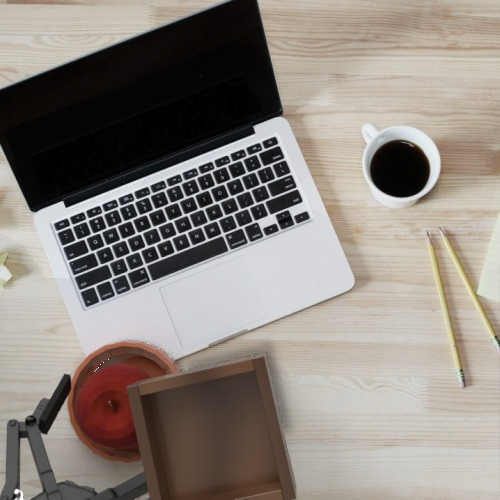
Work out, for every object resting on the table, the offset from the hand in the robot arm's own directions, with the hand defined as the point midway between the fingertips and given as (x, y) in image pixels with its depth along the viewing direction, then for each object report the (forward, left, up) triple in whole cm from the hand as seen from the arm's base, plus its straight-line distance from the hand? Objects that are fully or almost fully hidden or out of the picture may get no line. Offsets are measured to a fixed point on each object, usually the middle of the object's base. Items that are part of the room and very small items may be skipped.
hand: (123, 397), depth 82 cm
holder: (+12, -3, +18) cm, 22 cm away
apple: (-1, -1, -6) cm, 6 cm away
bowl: (-1, -1, -6) cm, 6 cm away
